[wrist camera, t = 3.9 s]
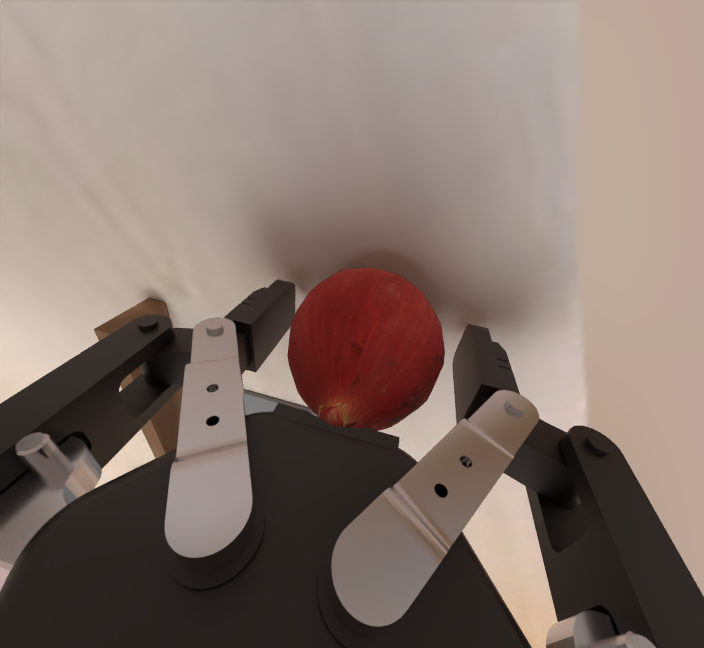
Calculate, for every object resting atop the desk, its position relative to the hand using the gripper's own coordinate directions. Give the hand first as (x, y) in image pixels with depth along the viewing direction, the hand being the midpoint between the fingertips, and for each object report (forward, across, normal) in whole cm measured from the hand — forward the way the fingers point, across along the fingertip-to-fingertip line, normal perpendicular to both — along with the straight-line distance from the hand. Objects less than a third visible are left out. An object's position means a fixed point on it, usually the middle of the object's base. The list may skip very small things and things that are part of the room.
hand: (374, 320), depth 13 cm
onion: (+2, 0, 0) cm, 2 cm away
